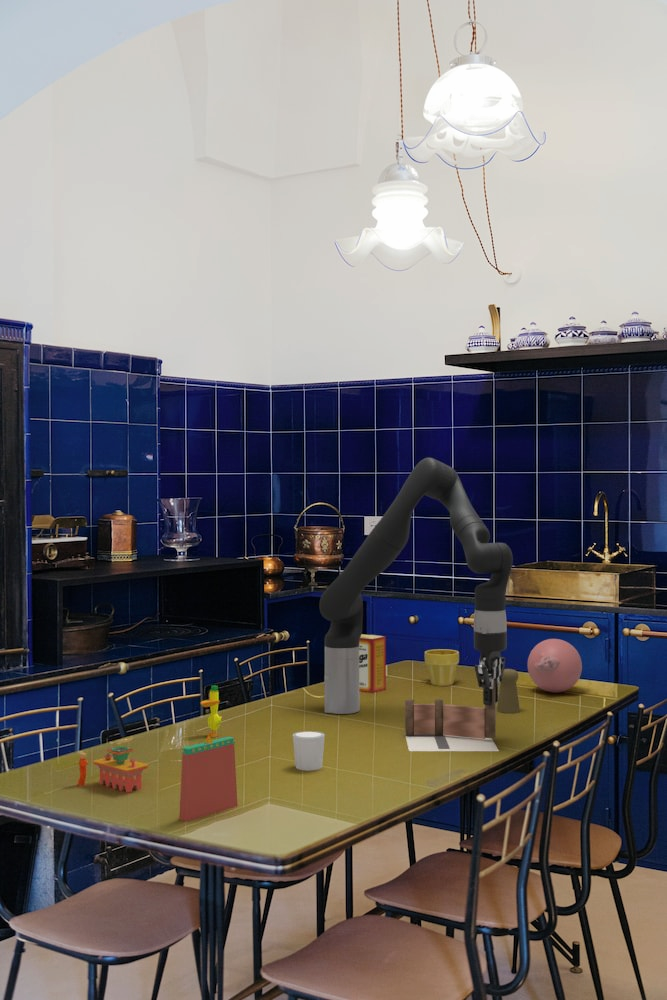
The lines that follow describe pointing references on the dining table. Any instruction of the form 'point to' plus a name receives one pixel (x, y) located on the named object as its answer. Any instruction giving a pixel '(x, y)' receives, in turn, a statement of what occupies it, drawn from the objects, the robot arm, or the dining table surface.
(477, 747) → the card
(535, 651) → the pink rubber ball
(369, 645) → the baking soda box
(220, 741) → the toy building block set
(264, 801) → the dining table surface
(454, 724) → the hinged fence panel
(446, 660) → the plant pot
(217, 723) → the toy figure
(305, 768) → the white short tapered cylinder
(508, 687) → the brown tall tapered piece
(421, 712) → the fence fixed section
